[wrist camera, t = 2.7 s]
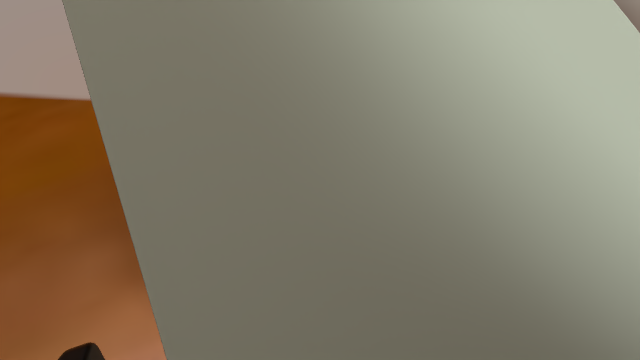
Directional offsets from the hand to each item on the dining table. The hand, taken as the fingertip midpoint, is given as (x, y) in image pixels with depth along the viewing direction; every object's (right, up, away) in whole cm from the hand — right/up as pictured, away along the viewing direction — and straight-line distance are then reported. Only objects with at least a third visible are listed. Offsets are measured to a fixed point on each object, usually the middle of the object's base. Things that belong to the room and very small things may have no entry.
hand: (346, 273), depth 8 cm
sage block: (-1, -3, +7) cm, 8 cm away
